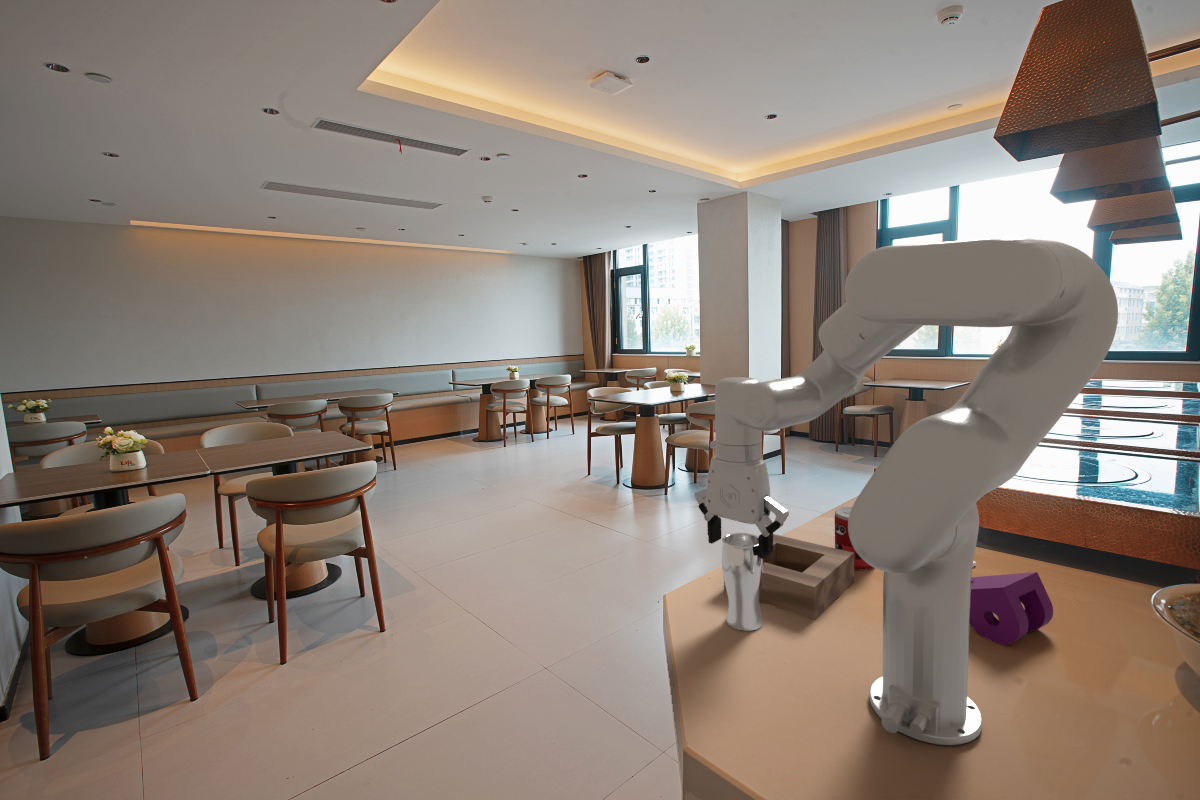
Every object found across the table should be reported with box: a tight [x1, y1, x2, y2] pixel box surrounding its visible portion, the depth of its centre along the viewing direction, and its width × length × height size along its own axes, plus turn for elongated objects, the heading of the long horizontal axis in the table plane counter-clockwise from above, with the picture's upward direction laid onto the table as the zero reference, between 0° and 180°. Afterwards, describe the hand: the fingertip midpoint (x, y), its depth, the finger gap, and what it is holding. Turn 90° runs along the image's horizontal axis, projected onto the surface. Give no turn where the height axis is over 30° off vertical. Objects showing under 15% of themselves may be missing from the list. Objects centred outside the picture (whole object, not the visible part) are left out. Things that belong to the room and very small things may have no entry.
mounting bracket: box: [969, 571, 1054, 646], centre depth 92 cm, size 9×8×18 cm
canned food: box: [834, 506, 874, 570], centre depth 116 cm, size 8×8×11 cm
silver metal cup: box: [721, 532, 764, 632], centre depth 95 cm, size 7×7×15 cm
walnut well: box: [723, 533, 855, 621], centre depth 107 cm, size 18×18×6 cm
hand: (739, 548), depth 95 cm, fingers open, 9 cm apart
